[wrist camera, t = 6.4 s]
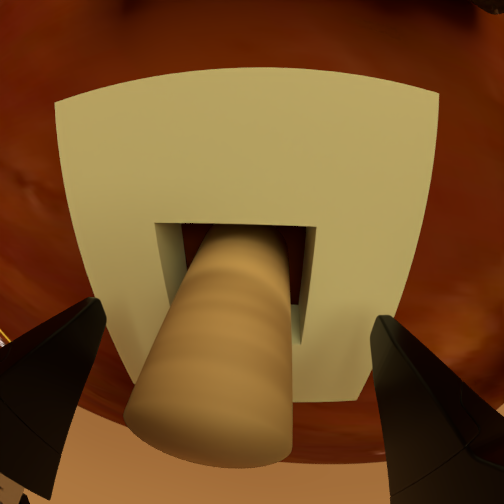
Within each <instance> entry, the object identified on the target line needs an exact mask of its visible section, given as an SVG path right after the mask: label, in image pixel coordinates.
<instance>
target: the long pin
mask: <svg viewBox="0 0 504 504" xmlns="http://www.w3.org/2000/svg"><path fill="white" fill-rule="evenodd" d="M123 417H124V421H125V423H126V425H127V426H128V428H129V429H130V430H131V431H132V432H133V433H134V434H135V435H136V436H137V437H139V438H140V439H141V440H143V441H144V442H146V443H147V444H149V445H151V446H152V447H154V448H156V449H158V450H160V451H162V452H164V453H166V454H169V455H171V456H174V457H177V458H179V459H182V460H186V461H189V462H193V463H197V464H202V465H207V466H213V467H221V468H255V467H261V466H266V465H270V464H274V463H276V462H279V461H281V460H283V459H284V458H286V457H287V456H288V455H289V454H290V453H291V451H292V426H293V390H292V333H291V302H290V278H289V258H288V248H287V244H286V241H285V239H284V237H283V236H282V234H281V233H280V232H279V230H278V229H277V228H276V227H275V226H273V225H258V224H220V223H216V224H214V225H213V226H212V227H211V228H210V229H209V231H208V232H207V234H206V236H205V237H204V239H203V241H202V243H201V245H200V247H199V249H198V251H197V253H196V255H195V257H194V259H193V261H192V263H191V265H190V267H189V269H188V271H187V273H186V275H185V277H184V279H183V281H182V283H181V285H180V287H179V289H178V291H177V293H176V296H175V298H174V300H173V302H172V304H171V306H170V308H169V310H168V312H167V315H166V317H165V319H164V321H163V323H162V325H161V327H160V330H159V332H158V334H157V336H156V338H155V341H154V343H153V345H152V347H151V349H150V352H149V354H148V356H147V358H146V361H145V363H144V365H143V368H142V370H141V372H140V375H139V377H138V379H137V382H136V384H135V386H134V389H133V391H132V394H131V396H130V398H129V401H128V403H127V406H126V408H125V411H124V414H123Z"/></svg>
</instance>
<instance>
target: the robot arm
mask: <svg viewBox="0 0 504 504" xmlns="http://www.w3.org/2000/svg"><path fill="white" fill-rule="evenodd" d="M106 323H107V316H106V314H105V311H104V308H103V306H102V303H101V301H100V299H98V298H95V297H88V298H86V299H84V300H82V301H80V302H79V303H77V304H75V305H73V306H71V307H70V308H68V309H66V310H64V311H63V312H61V313H59V314H57V315H56V316H54V317H52V318H50V319H49V320H47V321H45V322H44V323H42V324H40V325H38V326H37V327H35V328H33V329H32V330H30V331H28V332H27V333H25V334H23V335H22V336H20V337H18V338H17V339H15V340H13V342H10V343H8V344H7V345H5V346H3V347H2V348H0V504H30V503H29V500H28V497H27V495H25V494H24V493H23V491H24V488H26V489H28V490H30V491H31V492H33V493H35V494H37V495H39V496H41V497H43V498H45V499H47V500H50V499H51V495H52V490H53V486H54V482H55V477H56V474H57V470H58V466H59V462H60V458H61V454H62V451H63V447H64V444H65V441H66V437H67V434H68V431H69V428H70V425H71V422H72V419H73V416H74V413H75V410H76V407H77V404H78V402H79V399H80V396H81V393H82V391H83V388H84V385H85V383H86V380H87V378H88V375H89V373H90V370H91V368H92V365H93V363H94V360H95V357H96V354H97V351H98V348H99V344H100V341H101V338H102V335H103V332H104V329H105V326H106ZM370 348H371V358H372V368H373V379H374V386H375V391H376V397H377V402H378V407H379V413H380V419H381V425H382V431H383V438H384V445H385V453H386V460H387V468H388V477H389V489H390V496H391V497H390V504H504V417H503V416H502V415H501V414H500V413H498V412H497V411H496V410H495V409H493V408H492V407H491V406H490V405H489V404H488V403H486V402H485V401H484V400H483V399H482V398H480V397H479V396H478V395H477V394H476V393H475V392H474V391H473V390H472V389H471V388H470V387H469V386H468V385H467V384H466V383H464V382H463V381H462V380H461V379H460V378H459V377H458V376H457V375H456V374H455V373H454V372H453V371H452V370H451V369H450V368H449V367H447V366H446V365H445V364H444V363H443V362H442V361H441V360H440V359H439V358H438V357H437V356H436V355H434V354H433V353H432V352H431V351H430V350H429V349H428V348H427V347H426V346H425V345H423V344H422V343H421V342H420V341H419V340H418V339H417V338H416V337H415V336H413V335H412V334H411V333H410V332H409V331H408V330H407V329H406V328H404V327H403V326H402V325H401V324H400V323H399V322H398V321H396V320H395V319H394V318H393V317H392V316H391V315H378V316H377V317H376V319H375V322H374V325H373V328H372V331H371V334H370Z"/></svg>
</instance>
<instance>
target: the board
mask: <svg viewBox="0 0 504 504" xmlns="http://www.w3.org/2000/svg"><path fill="white" fill-rule="evenodd" d="M438 107H439V93H436V92H432V91H429V90H425V89H422V88H418V87H414V86H410V85H406V84H402V83H397V82H393V81H388V80H383V79H378V78H373V77H367V76H361V75H354V74H347V73H340V72H331V71H322V70H310V69H294V68H228V69H213V70H201V71H191V72H183V73H175V74H168V75H161V76H155V77H150V78H144V79H139V80H134V81H129V82H125V83H120V84H116V85H112V86H108V87H104V88H100V89H96V90H93V91H89V92H86V93H83V94H79V95H76V96H73V97H70V98H67V99H64V100H61V101H58V102H55V117H56V129H57V139H58V147H59V155H60V162H61V168H62V175H63V180H64V186H65V191H66V196H67V201H68V206H69V210H70V215H71V219H72V223H73V227H74V231H75V235H76V238H77V242H78V246H79V249H80V253H81V256H82V259H83V263H84V266H85V269H86V272H87V275H88V278H89V281H90V284H91V287H92V290H93V293H94V295H95V298H98V299H100V301H101V303H102V306H103V308H104V311H105V314H106V316H107V323H106V326H107V329H108V331H109V333H110V336H111V338H112V340H113V342H114V345H115V347H116V349H117V351H118V353H119V356H120V358H121V360H122V362H123V364H124V366H125V368H126V370H127V372H128V374H129V376H130V378H131V380H132V382H133V384H136V382H137V379H138V377H139V375H140V372H141V370H142V368H143V365H144V363H145V361H146V358H147V356H148V354H149V352H150V349H151V347H152V345H153V343H154V341H155V338H156V336H157V334H158V332H159V330H160V327H161V325H162V323H163V321H164V319H165V317H166V315H167V312H168V310H169V308H170V306H171V304H172V302H173V300H174V298H175V296H176V293H177V291H178V289H179V287H180V285H181V283H182V281H183V279H184V277H185V275H186V273H187V265H186V258H185V251H184V243H183V235H182V227H181V223H220V224H258V225H288V226H306V237H305V248H304V259H303V269H302V278H301V288H300V296H299V305H291V333H292V390H293V402H332V401H351V400H357V398H358V396H359V394H360V392H361V391H362V389H363V387H364V385H365V382H366V380H367V378H368V376H369V374H370V372H371V370H372V358H371V348H370V334H371V331H372V328H373V325H374V322H375V319H376V317H377V316H378V315H391V316H392V317H393V318H394V315H395V312H396V310H397V307H398V304H399V301H400V298H401V295H402V292H403V289H404V286H405V283H406V280H407V277H408V274H409V270H410V267H411V264H412V260H413V257H414V253H415V249H416V246H417V242H418V238H419V234H420V230H421V226H422V221H423V217H424V212H425V207H426V202H427V197H428V192H429V186H430V181H431V174H432V168H433V161H434V153H435V144H436V135H437V123H438Z"/></svg>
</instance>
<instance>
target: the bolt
mask: <svg viewBox="0 0 504 504" xmlns="http://www.w3.org/2000/svg"><path fill="white" fill-rule="evenodd" d="M469 1H471V2H473V3H474V4H475V5H477V6H478V7H480V8H481V9H483V10H484V11H486V12H487V13H490V14H495V15H496V14H498V13H499V14H502V13H504V0H469Z"/></svg>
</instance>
